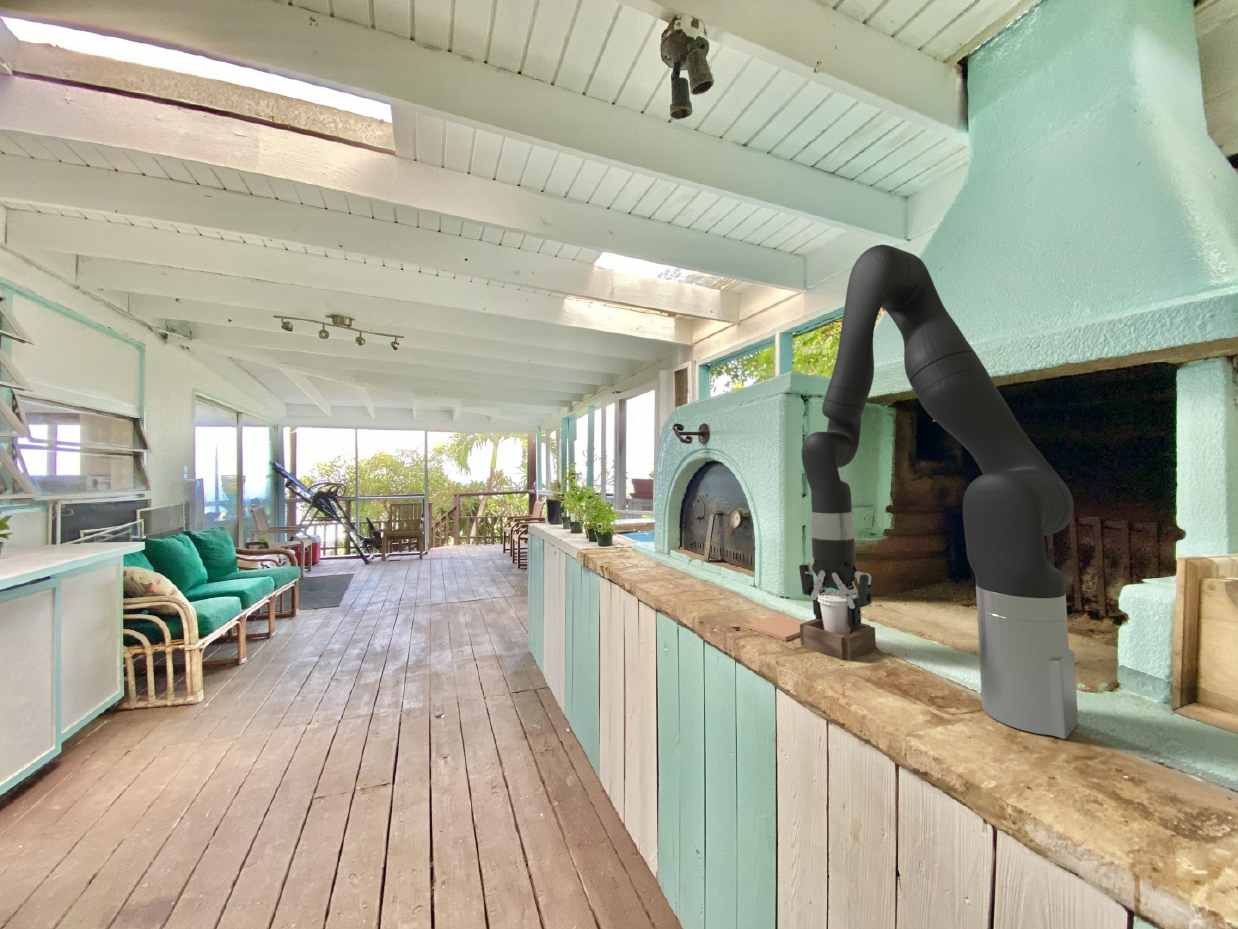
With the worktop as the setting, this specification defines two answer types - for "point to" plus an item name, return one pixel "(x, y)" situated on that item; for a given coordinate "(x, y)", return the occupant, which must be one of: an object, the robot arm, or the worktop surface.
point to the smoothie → (834, 612)
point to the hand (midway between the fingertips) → (836, 622)
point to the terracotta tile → (777, 627)
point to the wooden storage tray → (838, 640)
